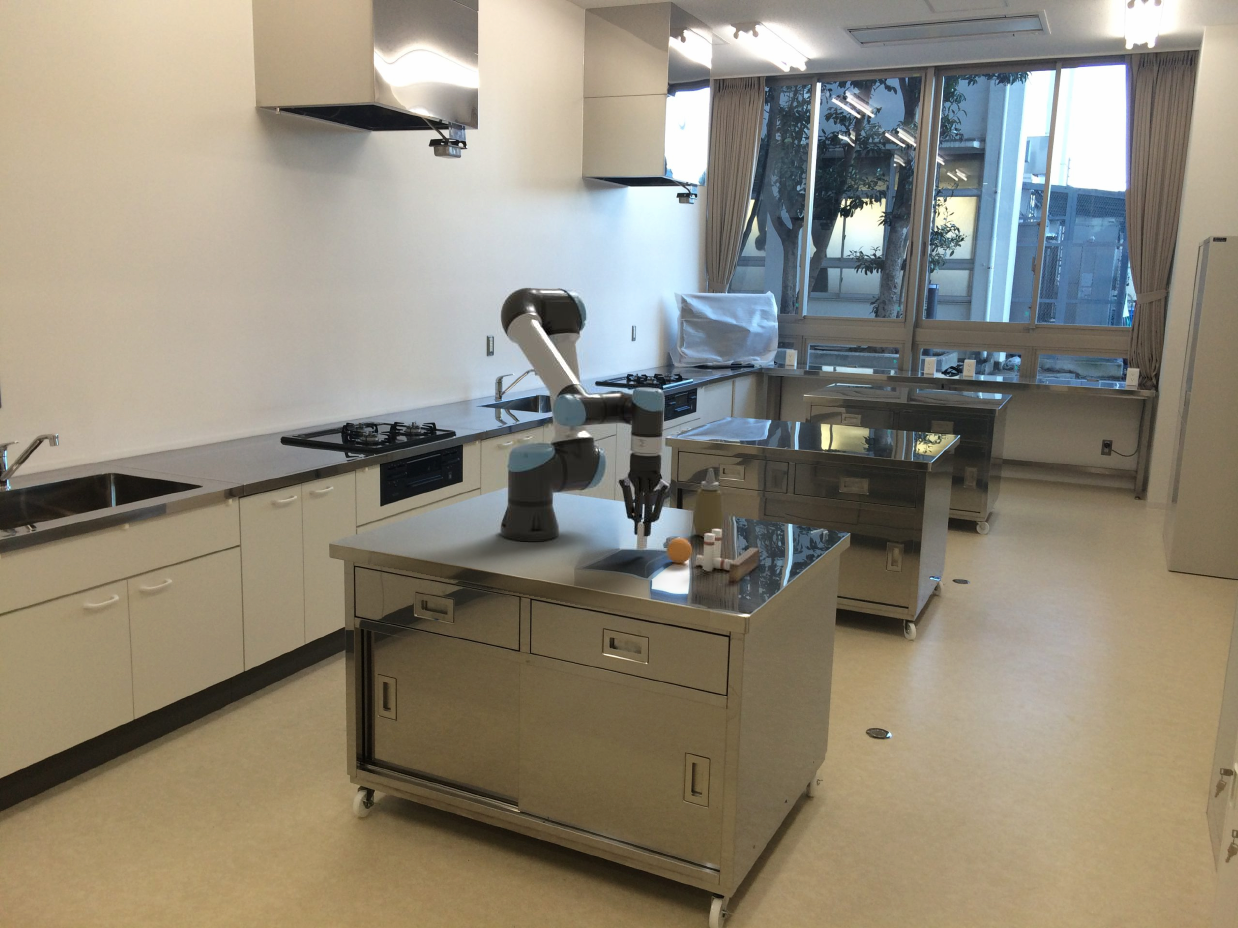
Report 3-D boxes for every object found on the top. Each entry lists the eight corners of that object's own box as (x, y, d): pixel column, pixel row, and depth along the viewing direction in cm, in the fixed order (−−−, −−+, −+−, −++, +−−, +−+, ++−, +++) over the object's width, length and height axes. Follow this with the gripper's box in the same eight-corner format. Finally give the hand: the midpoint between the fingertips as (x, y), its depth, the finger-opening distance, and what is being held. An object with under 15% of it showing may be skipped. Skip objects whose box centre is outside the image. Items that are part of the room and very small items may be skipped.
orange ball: (690, 559, 229) (671, 570, 232) (700, 552, 234) (681, 562, 237) (677, 537, 229) (658, 548, 232) (687, 530, 234) (668, 541, 237)
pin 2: (708, 565, 232) (710, 530, 231) (711, 562, 235) (713, 528, 233) (718, 566, 231) (720, 531, 230) (721, 564, 234) (723, 529, 232)
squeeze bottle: (720, 540, 256) (724, 473, 252) (690, 537, 257) (693, 470, 254) (723, 533, 263) (727, 467, 260) (694, 530, 265) (697, 465, 262)
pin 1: (700, 570, 228) (702, 534, 226) (704, 567, 230) (706, 532, 229) (711, 571, 227) (713, 536, 225) (714, 569, 229) (716, 534, 228)
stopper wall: (728, 580, 221) (729, 563, 220) (749, 563, 235) (750, 547, 234) (737, 581, 220) (738, 564, 219) (757, 564, 234) (758, 548, 234)
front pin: (695, 556, 230) (729, 561, 227) (699, 553, 233) (733, 558, 229) (695, 566, 231) (729, 571, 228) (699, 563, 233) (732, 568, 230)
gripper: (614, 452, 233) (610, 548, 237) (665, 458, 227) (660, 555, 232) (627, 448, 239) (623, 541, 244) (677, 453, 234) (672, 548, 238)
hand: (641, 548), depth 238 cm, fingers closed
